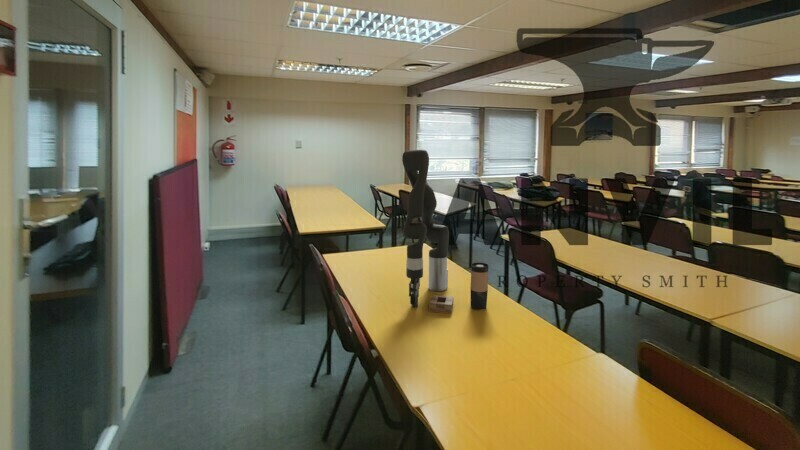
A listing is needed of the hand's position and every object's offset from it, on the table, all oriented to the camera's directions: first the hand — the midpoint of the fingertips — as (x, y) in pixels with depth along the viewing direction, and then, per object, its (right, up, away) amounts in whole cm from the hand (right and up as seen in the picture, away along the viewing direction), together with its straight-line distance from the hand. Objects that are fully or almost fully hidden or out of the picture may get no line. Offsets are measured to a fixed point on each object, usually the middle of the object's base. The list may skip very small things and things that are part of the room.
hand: (414, 300), depth 188 cm
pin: (0, -3, +1) cm, 3 cm away
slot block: (+12, -3, -2) cm, 13 cm away
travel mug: (+29, -3, -1) cm, 29 cm away
